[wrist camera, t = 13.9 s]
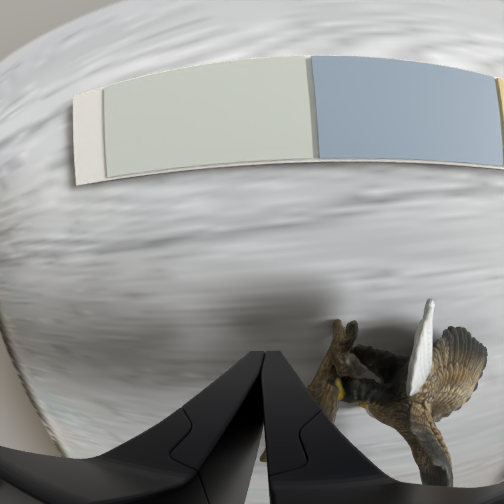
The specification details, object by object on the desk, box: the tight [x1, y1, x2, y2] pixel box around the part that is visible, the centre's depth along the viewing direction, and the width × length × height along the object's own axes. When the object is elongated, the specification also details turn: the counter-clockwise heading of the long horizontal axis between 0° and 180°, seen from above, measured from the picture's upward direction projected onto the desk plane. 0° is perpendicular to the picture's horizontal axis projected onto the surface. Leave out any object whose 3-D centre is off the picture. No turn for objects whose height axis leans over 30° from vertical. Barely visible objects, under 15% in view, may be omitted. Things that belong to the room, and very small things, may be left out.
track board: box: [73, 55, 504, 185], centre depth 9 cm, size 4×24×1 cm, turn 93°
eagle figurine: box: [260, 298, 487, 487], centre depth 9 cm, size 8×7×9 cm
